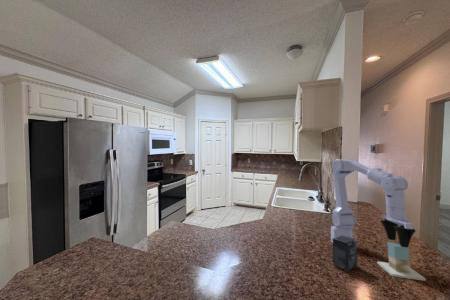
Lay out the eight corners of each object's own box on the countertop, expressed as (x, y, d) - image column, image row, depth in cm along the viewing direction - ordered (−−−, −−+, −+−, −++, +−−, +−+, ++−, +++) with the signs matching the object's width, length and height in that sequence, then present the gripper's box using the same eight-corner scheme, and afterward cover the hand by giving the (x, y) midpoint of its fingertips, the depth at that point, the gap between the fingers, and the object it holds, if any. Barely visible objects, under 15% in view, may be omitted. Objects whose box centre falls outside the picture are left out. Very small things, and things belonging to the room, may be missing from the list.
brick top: (395, 258, 72) (394, 246, 72) (388, 253, 76) (387, 241, 77) (409, 260, 71) (408, 247, 71) (401, 255, 75) (400, 243, 76)
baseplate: (392, 276, 69) (391, 274, 69) (377, 263, 79) (377, 261, 79) (425, 280, 67) (425, 278, 67) (406, 266, 77) (406, 264, 77)
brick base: (396, 271, 71) (395, 258, 72) (389, 265, 76) (388, 253, 76) (410, 273, 70) (409, 260, 71) (402, 267, 75) (401, 255, 75)
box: (348, 272, 71) (347, 242, 73) (332, 265, 76) (332, 238, 77) (357, 266, 76) (356, 239, 77) (342, 260, 80) (341, 234, 82)
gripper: (421, 211, 67) (424, 252, 66) (395, 204, 81) (397, 237, 80) (398, 210, 69) (400, 249, 68) (376, 203, 83) (378, 235, 82)
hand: (397, 243), depth 74 cm, fingers open, 7 cm apart
